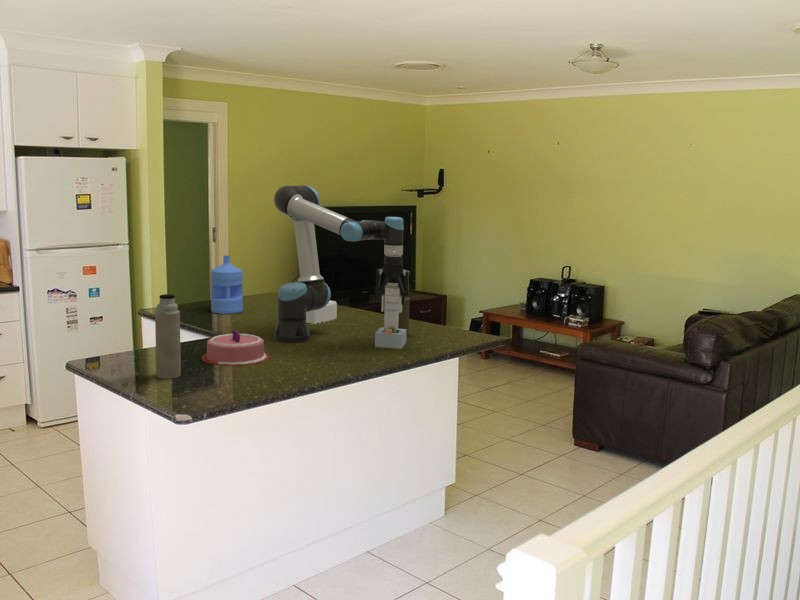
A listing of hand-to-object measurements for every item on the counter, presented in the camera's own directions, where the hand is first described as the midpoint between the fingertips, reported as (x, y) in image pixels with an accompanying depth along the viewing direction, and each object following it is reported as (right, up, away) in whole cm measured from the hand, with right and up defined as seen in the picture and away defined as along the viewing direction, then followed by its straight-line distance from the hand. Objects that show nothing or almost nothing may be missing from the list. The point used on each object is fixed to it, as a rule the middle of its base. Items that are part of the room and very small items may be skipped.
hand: (391, 311), depth 299 cm
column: (0, -8, +1) cm, 8 cm away
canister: (+2, -12, +22) cm, 25 cm away
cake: (-59, -18, -21) cm, 65 cm away
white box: (-40, -5, +54) cm, 67 cm away
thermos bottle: (-76, -21, -49) cm, 92 cm away
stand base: (0, -15, +3) cm, 15 cm away
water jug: (-83, -1, +67) cm, 107 cm away
